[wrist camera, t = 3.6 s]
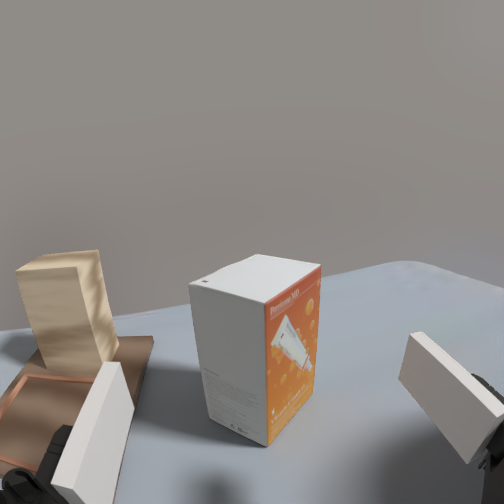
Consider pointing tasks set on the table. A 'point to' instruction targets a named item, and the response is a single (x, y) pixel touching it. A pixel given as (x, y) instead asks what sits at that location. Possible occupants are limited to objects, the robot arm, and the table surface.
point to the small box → (257, 342)
